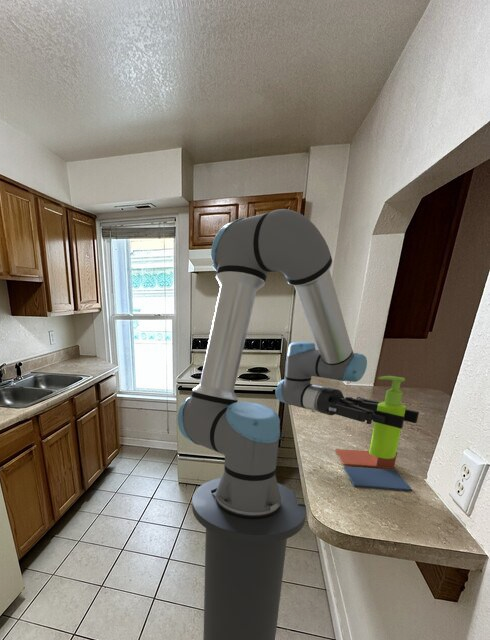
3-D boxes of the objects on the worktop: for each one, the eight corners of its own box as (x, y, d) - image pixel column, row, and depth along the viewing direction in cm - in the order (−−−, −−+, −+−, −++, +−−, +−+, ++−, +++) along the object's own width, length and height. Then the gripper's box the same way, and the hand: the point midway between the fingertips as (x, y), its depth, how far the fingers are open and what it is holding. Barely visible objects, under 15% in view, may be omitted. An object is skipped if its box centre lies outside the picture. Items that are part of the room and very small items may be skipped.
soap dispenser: (369, 446, 95) (383, 373, 88) (398, 453, 91) (415, 376, 84) (361, 453, 92) (374, 377, 85) (390, 460, 87) (407, 380, 80)
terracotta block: (376, 466, 99) (379, 451, 98) (371, 459, 103) (374, 445, 102) (394, 467, 98) (397, 452, 97) (388, 460, 102) (391, 446, 101)
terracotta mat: (344, 465, 101) (344, 463, 101) (335, 450, 111) (335, 449, 111) (394, 468, 99) (394, 467, 98) (380, 453, 109) (381, 451, 108)
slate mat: (354, 486, 90) (354, 484, 89) (343, 468, 100) (344, 466, 99) (411, 491, 87) (412, 489, 87) (395, 471, 97) (395, 470, 97)
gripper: (341, 407, 108) (426, 427, 89) (300, 418, 99) (385, 443, 80) (345, 383, 105) (433, 398, 87) (303, 392, 96) (391, 411, 78)
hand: (409, 420), depth 84 cm, fingers closed on soap dispenser, 6 cm apart
